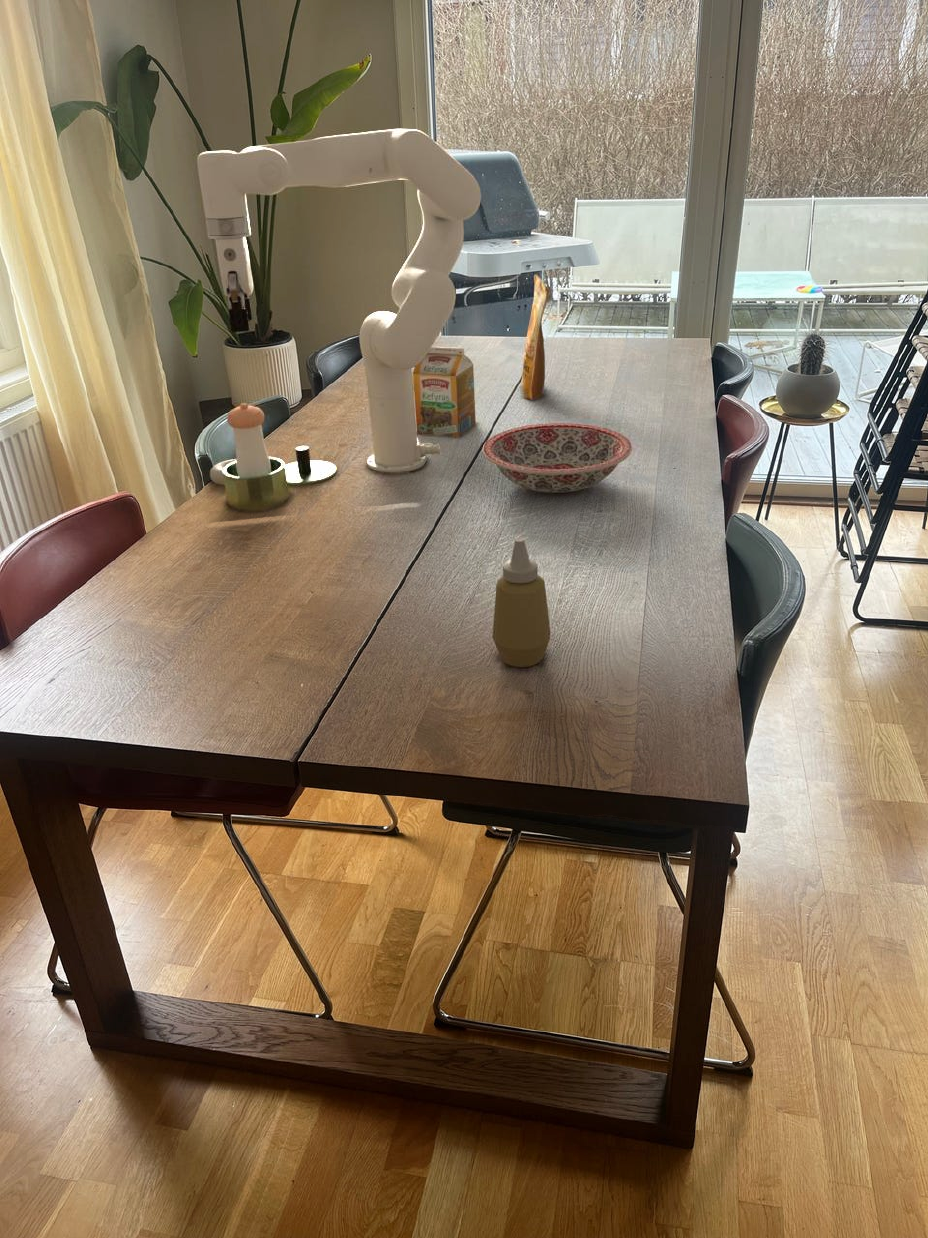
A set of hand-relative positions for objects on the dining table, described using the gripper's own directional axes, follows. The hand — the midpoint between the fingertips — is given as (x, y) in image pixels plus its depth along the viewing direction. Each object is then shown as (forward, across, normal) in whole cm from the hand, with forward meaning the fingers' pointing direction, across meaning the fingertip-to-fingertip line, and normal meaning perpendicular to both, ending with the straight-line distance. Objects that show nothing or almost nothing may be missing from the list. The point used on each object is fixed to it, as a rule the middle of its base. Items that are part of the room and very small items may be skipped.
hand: (242, 325), depth 179 cm
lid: (+32, +6, -8) cm, 34 cm away
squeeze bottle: (+33, -75, -38) cm, 90 cm away
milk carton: (+32, +30, -41) cm, 60 cm away
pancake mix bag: (+32, +54, -68) cm, 93 cm away
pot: (+33, -5, +1) cm, 33 cm away
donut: (+33, +8, +7) cm, 35 cm away
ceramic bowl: (+32, -12, -58) cm, 67 cm away
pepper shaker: (+33, -5, +1) cm, 33 cm away
